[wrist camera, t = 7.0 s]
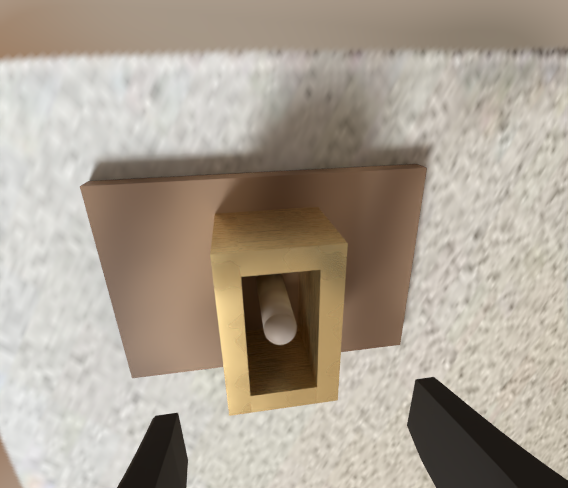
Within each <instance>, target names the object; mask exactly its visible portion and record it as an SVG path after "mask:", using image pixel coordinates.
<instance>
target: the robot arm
mask: <svg viewBox="0 0 568 488" xmlns="http://www.w3.org/2000/svg"><path fill="white" fill-rule="evenodd" d="M407 426H408V429H409V431H410V434H411V436H412V439H413V441H414V444H415V446H416V449H417V451H418V453H419V455H420V458H421V460H422V462H423V464H424V466H425V468H426V470H427V472H428V473H429V475H430V477H431V479H432V481H433V483H434V485H435V486H436V488H568V480H566V479H565V478H563V477H562V476H561V475H559V474H558V473H556V472H555V471H553V470H552V469H551V468H549V467H548V466H546V465H545V464H544V463H542V462H541V461H540V460H538V459H537V458H535V457H534V456H533V455H531V454H530V453H529V452H527V451H526V450H525V449H523V448H522V447H521V446H519V445H518V444H517V443H515V442H514V441H513V440H511V439H510V438H509V437H507V436H506V435H505V434H504V433H502V432H501V431H500V430H498V429H497V428H496V427H495V426H493V425H492V424H491V423H490V422H488V421H487V420H486V419H485V418H483V417H482V416H481V415H480V414H478V413H477V412H476V411H475V410H474V409H472V408H471V407H470V406H469V405H467V404H466V403H465V402H464V401H463V400H461V399H460V398H459V397H458V396H457V395H455V394H454V393H453V392H452V391H450V390H449V389H448V388H447V387H446V386H444V385H443V384H442V383H441V382H439V381H438V380H437V379H436V378H434V377H430V378H423V379H416V380H415V385H414V391H413V396H412V402H411V407H410V412H409V418H408V423H407ZM187 467H188V458H187V453H186V448H185V444H184V439H183V434H182V429H181V425H180V420H179V415H178V413H172V414H165V415H158V416H155V417H154V418H153V419H152V421H151V423H150V426H149V428H148V430H147V432H146V434H145V436H144V438H143V440H142V442H141V444H140V446H139V448H138V450H137V452H136V454H135V456H134V458H133V460H132V462H131V463H130V465H129V467H128V469H127V471H126V473H125V475H124V476H123V478H122V480H121V482H120V483H119V485H118V487H117V488H186V484H187Z"/></svg>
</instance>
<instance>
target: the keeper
mask: <svg viewBox="0 0 568 488" xmlns="http://www.w3.org/2000/svg"><path fill="white" fill-rule="evenodd" d="M426 171H427V168H426V167H423V166H421V165H418V164H407V165H388V166H369V167H350V168H331V169H312V170H292V171H273V172H254V173H235V174H216V175H196V176H177V177H158V178H139V179H120V180H101V181H88V182H86V183H85V184H83V185H81V186H80V189H81V192H82V196H83V200H84V203H85V207H86V211H87V214H88V218H89V222H90V225H91V229H92V233H93V236H94V240H95V244H96V247H97V251H98V255H99V258H100V262H101V266H102V269H103V273H104V277H105V280H106V284H107V288H108V291H109V295H110V299H111V302H112V306H113V310H114V313H115V317H116V321H117V324H118V328H119V332H120V335H121V339H122V343H123V346H124V350H125V354H126V357H127V361H128V365H129V368H130V372H131V376H132V378H138V377H146V376H154V375H162V374H170V373H178V372H186V371H194V370H202V369H210V368H218V367H224V366H223V358H222V350H221V341H220V333H219V324H218V316H217V308H216V299H215V291H214V283H213V274H212V266H211V257H210V251H211V243H212V234H213V225H214V216H215V214H217V213H233V212H248V211H263V210H279V209H294V208H310V207H319V209H320V210H321V211H322V212H323V213H324V215H325V216H326V217H327V218H328V220H329V221H330V222H331V223H332V225H333V226H334V227H335V228H336V230H337V231H338V232H339V233H340V234H341V236H342V237H343V238H344V239H345V241H346V242H347V243H348V247H347V263H346V278H345V294H344V309H343V325H342V340H341V352H346V351H354V350H362V349H370V348H377V347H385V346H393V345H400V342H401V335H402V328H403V322H404V315H405V309H406V302H407V296H408V289H409V282H410V276H411V269H412V263H413V256H414V250H415V243H416V236H417V230H418V223H419V217H420V210H421V203H422V197H423V190H424V184H425V177H426ZM241 279H242V292H243V304H244V317H245V329H246V331H252V330H261V329H264V334H265V336H266V338H267V339H268V340H269V341H270V342H272V343H274V344H277V345H284V344H287V343H289V342H290V341H291V340H292V339H293V338H294V336H295V334H296V331H297V325H298V272H289V273H278V274H267V275H256V276H245V277H241Z"/></svg>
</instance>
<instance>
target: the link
mask: <svg viewBox="0 0 568 488" xmlns="http://www.w3.org/2000/svg"><path fill="white" fill-rule="evenodd" d="M347 247H348V243H347V242H346V241H345V239H344V238H343V237H342V236H341V234H340V233H339V232H338V231H337V230H336V228H335V227H334V226H333V225H332V223H331V222H330V221H329V220H328V218H327V217H326V216H325V215H324V213H323V212H322V211H321V210H320V209H319V207H310V208H294V209H279V210H263V211H248V212H233V213H217V214H215V216H214V225H213V234H212V243H211V251H210V257H211V266H212V274H213V283H214V291H215V299H216V308H217V316H218V324H219V333H220V341H221V350H222V358H223V366H224V375H225V383H226V392H227V400H228V408H229V416H230V415H237V414H244V413H251V412H258V411H265V410H272V409H279V408H286V407H294V406H301V405H308V404H315V403H322V402H329V401H336V400H338V386H339V371H340V355H341V340H342V325H343V309H344V294H345V278H346V263H347ZM289 272H298V325H297V331H296V334H295V336H294V338H293V339H292V340H291V341H290V342H289V343H287V344H284V345H277V344H274V343H272V342H270V341H269V340H268V339H267V338H266V336H265V334H264V329H261V330H252V331H246V329H245V317H244V304H243V292H242V279H241V277H245V276H256V275H267V274H278V273H289Z"/></svg>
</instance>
